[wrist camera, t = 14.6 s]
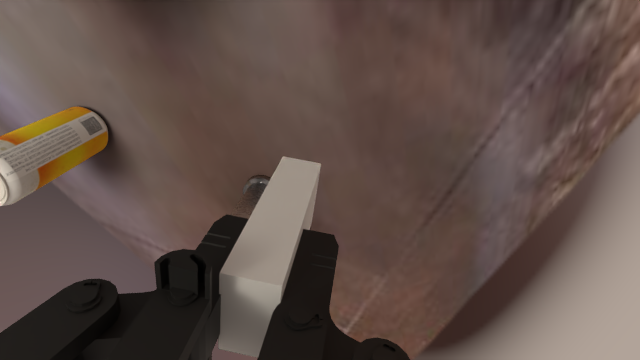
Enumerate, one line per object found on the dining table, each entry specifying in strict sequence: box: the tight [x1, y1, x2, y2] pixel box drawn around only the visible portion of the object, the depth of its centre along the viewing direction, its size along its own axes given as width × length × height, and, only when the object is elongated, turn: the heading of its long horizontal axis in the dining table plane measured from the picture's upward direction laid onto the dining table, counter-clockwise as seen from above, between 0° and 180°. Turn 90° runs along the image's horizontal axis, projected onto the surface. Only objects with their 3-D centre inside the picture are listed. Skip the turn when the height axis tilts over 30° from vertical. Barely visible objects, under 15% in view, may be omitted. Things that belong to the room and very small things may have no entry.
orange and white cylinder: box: [0, 107, 108, 206], centre depth 42 cm, size 6×6×15 cm
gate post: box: [231, 175, 271, 219], centre depth 40 cm, size 5×5×21 cm
